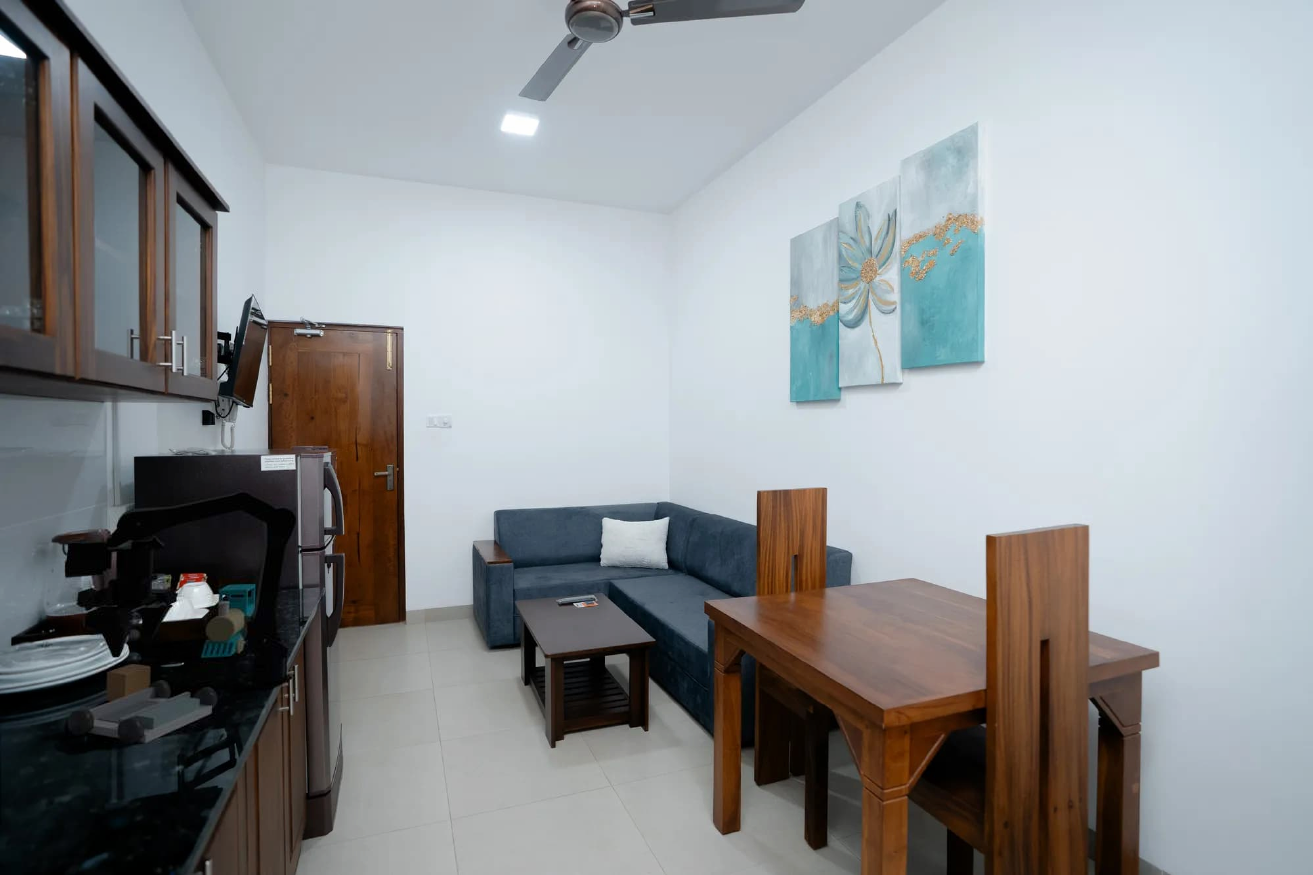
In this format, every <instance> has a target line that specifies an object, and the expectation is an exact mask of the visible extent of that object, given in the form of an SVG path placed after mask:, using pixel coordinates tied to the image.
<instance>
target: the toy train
mask: <svg viewBox="0 0 1313 875" xmlns="http://www.w3.org/2000/svg"><path fill="white" fill-rule="evenodd" d="M249 591H251V596H249V594H248V593H249ZM239 595H240V596H241V595H242V596H243V597H232V596H239ZM223 596H226V600H223V599H224V598H223ZM248 596H249V597H248ZM217 605H218V612H217V613H218V615H217V616H215V617H214V618H212V619H211V620H209V621H208V623H207V624H206V627H205V634H206V636H207V637H208V639H206V640H205V643H204V646H203V650H202V653H201V657H200V658H201V659H203V658H221V657H223V658H224V657H231V656H233V655H234V654H235V653H236V654H241V653H242V652H241V651H243V650H244V646H245V644H246V642H245V641H244V639H243V637H242V635H241V632H242V630H243V628H244V616H251V615H252V613H253V611H254V609H255V606H256V583H254V584H253V583H250V584H247V583H245V584H228V585H225V587H223V588H221V589H219V591H218V603H217ZM240 652H241V653H240Z"/></svg>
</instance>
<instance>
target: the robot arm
mask: <svg viewBox="0 0 1313 875" xmlns="http://www.w3.org/2000/svg"><path fill="white" fill-rule="evenodd" d="M238 511H242V512H244V513H246V514H248V515H250V516H252V517H254V518H255V519H258V520H259V521H262V529H263V542H264V550H263V556H262V563H261V569H260V575H259V576H260V577H259V580H258V588H257V594H256V598H255V609H254V611H253V613H252V615H251V616H244V628H243V630H242V632H241V635H242V637H243V639H244V641H245V642H246V643H245V644H246V647H247V650H249V651H250V652H251V653H252V654H256V656H255V658H253V659H252V661H253V662H252V666H251V681H248V682H247V683H246V686H247V687H253V688H260V689H267V690H269V689H270V690H272V689H273V688H275V687H278V686H280V685H282V684H284V683H286V682H288V681H291V680H292V679H293V676H291V675H287V673H288V653H289V648H288V646H287V645H286V642H285V641H284V640H283V638H282V637H280V636H279V635H278V624H277V622H278V621H277V614H276V607H277V602H278V596H279V590H280V589H279V588H280V583H281V577H282V570H283V563H284V559H285V558H284V557H285V553H286V551H285V550H286V548H287V545H288V543H289V541H290V539H291V538H292V534H293V532H294V529H295V526H296V524H297V517H296V514H295V513H294V512H293V511H292V510H291V509H289V508H288V507H285V506H283V505H274V506H273V505H271V504H269V503H268V502H265V501H264V500H261V499H259V498H257V497H255V496H253V495H252V494H251V493H249V492H248V491H244V490H238V491H236V492H234V493H230V494H224V495H219V496H215V497H211V498H206V499H202V500H197V501H193V502H187V503H184V504H178V505H174V506H162V507H161V506H160V507H159V506H157V507H156V506H155V507H141V508H132V509H129V510H126V511H124V512H123V513H122V514H121V515H120V516H119V518H118V520H117V523H116V529H114V531H113V532H111V534H108V536H107V537H106V539H105V540H97V541H95V540H94V541H77V540H76V541H70V542H68V543H67V552H66V559H65V561H64V578H65V579H70V578H72V579H73V578H80V577H93V576H104V575H105V572H108V570H112V568H113V553H115V554H116V555H115V556H116V557H115V558H116V559H115V578H112V579H110V580H109V581H108V583H107V584H108V586H107V587H105V588H102V589H100V590H96V589H95V588H93V587H89V588H85V589H84V590H81V591H78V593H77V596H76V597H77V598H76V606H78V607H80V608H84V610H85V611H86V614H84V615H83V625H82V626H83V627H84V628H89V629H90V630H95V631H97V632H99V633H100V634H101V635H102V637H103V639H104V641H105V643H106V645H107V646H106V647H108V650H109V652H110V654H111V656H112V658H115V659H116V658H119V657H121V655H122V652H123V650H124V647H125V644H126V641H127V638H128V635H129V632H130V630H131V627H132V624H133V622H132V621H130V620H131V619H132V616H133V615H132V614H133V612H137V614H138V615H140V617H141V626H142V627H141V628H142V636H143V642H144V643H151V642H152V640H153V638H154V637H155V635H156V633H157V632H158V630H159V628H160V626H161V624H162V622H163V620H164V619H166V618H165V617H166V616H167V615H168V613H169V611H170V610H171V608H173V606H174V605H173V604H175V603H177V601H178V598H177V597H178V593H177V592H176V591H175V590H174V589H172V588H163V589H161V588H160V589H159V588H155V589H154V588H153V582H154V581H157V580H158V574H153V564H154V563H153V562H154V561H153V560H154V558H153V556H154V550H163V549H165V543H164V542H162V541H161V540H160V539H158V538H157V535H156V536H155V534H159V533H160V532H162V531H165V530H168V529H169V528H172V527H175V526H177V525H181V524H187V523H190V522H194V521H200V520H203V519H207V518H213V517H216V516H221V515H224V514H225V515H226V514H230V513H234V512H238ZM150 536H152V538H150V539H148V540H143V539H146V538H147V537H150ZM129 541H131V545H126V546H125V545H124V544H125V543H127V542H129ZM123 545H124V546H123ZM94 608H95V609H94Z"/></svg>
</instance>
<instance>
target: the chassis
mask: <svg viewBox="0 0 1313 875" xmlns="http://www.w3.org/2000/svg"><path fill="white" fill-rule="evenodd" d="M170 696H171V687H170V685H169V683H168V682H167V681H165V680H162V679H160V680H157V681H154V682H152V683H150V685H149V687H148V688H147V689H144V690H141V691H139V692H136V693H133V694H130V695H128V696H125V697H122V698H119V699H117V700H114V701H108V702H107V703H106V702H105V703H104V704H103V703H102V704H101V705H98V706H96V707H93V708H90V709H88V708H85V707H83V708H80V709H77V710H75V711H72V712H71V713H70V714H69V715H68V717H67V727H68V729H69V732H70V733H71V734H72V735H74V736H81V735H84V734H86V733H87V734H95V735H98V736H99V735H100V736H103V737H104V736H105V737H110V738H118V739H119V740H120V742H121V743H122V744H124V745H125V746H126V745H132V744H134V743H137V742H138V743H143V744H147V743H149V742H151V741H153V740H155V739H158V738H159V737H162V736H164V735H167V734H169V733H171V732H173V731H175V730H177V729H180V728H182V727H184V726H187V725H189V724H190V723H193V722H195V721H197V720H200V719H203V718H204V717H206V716H209V715H211V714H212V711H213V708H214V707H216V705H217V702H218V695H217V692H216V691H215V690H214V689H213V688H212V687H209V686H207V687H203V688H200V689H198V690H196V691H195V693H194V695H193V697H191V691H185V692H183V693H182V692H181V693H180V694H178V695H176V696H173V697H170Z"/></svg>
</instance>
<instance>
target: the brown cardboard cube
mask: <svg viewBox="0 0 1313 875" xmlns="http://www.w3.org/2000/svg"><path fill="white" fill-rule="evenodd" d="M150 684H151V666H149V665H143V664H135V663H131V664H128V665H125V666H122V667H119V668H115V669H112V670H110V671H107V673H106V702H111V701H114V700H117V699H119V698H122V697H125V696H128V695H130V694H133V693H136V692H139V691H141V690H144V689H147V688H148V687H149V685H150Z"/></svg>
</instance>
